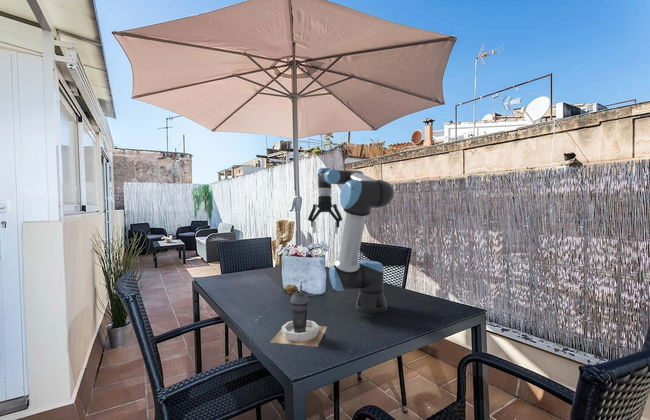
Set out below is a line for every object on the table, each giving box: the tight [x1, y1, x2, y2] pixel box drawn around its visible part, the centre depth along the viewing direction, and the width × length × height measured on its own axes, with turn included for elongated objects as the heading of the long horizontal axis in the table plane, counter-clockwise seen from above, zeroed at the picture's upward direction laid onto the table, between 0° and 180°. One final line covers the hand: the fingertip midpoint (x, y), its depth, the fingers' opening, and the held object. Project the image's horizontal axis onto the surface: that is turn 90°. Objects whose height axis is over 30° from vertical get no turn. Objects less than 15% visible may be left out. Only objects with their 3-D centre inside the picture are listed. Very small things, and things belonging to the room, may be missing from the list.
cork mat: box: [269, 325, 328, 348], centre depth 121 cm, size 18×18×1 cm
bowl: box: [281, 319, 320, 342], centre depth 121 cm, size 14×14×3 cm
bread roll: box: [284, 284, 299, 295], centre depth 180 cm, size 10×10×8 cm
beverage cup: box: [289, 280, 310, 333], centre depth 120 cm, size 7×7×20 cm
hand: (325, 233), depth 175 cm, fingers open, 13 cm apart
